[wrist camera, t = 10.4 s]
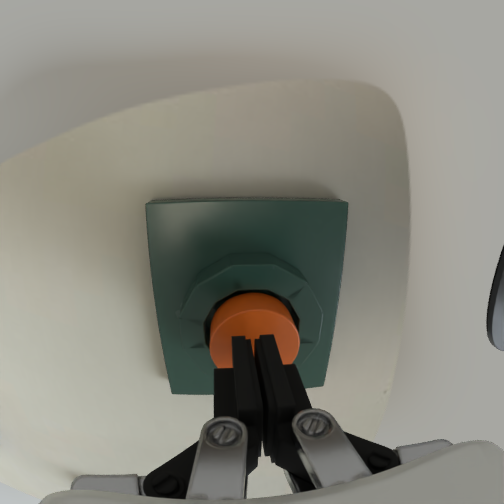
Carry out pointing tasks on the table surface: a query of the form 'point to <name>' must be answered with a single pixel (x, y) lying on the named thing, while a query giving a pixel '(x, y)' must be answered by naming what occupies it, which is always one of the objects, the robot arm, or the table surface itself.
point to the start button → (252, 326)
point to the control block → (244, 274)
